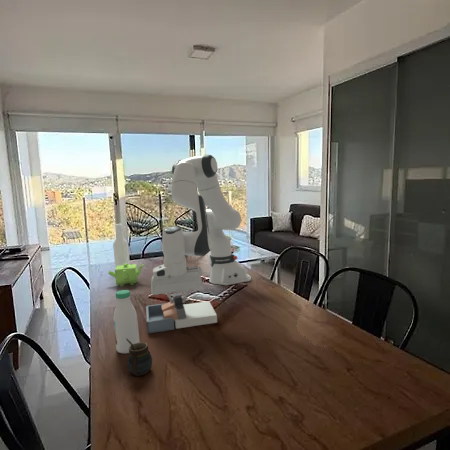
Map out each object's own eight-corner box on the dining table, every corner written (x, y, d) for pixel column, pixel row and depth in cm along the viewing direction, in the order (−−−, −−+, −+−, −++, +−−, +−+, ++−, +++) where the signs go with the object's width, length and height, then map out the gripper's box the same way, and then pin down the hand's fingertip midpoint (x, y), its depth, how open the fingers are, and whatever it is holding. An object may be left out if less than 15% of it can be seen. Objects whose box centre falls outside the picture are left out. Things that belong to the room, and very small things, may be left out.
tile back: (174, 305, 146) (172, 300, 145) (176, 310, 141) (173, 304, 140) (163, 310, 145) (161, 305, 144) (164, 315, 140) (162, 310, 139)
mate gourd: (147, 379, 99) (144, 346, 98) (123, 378, 101) (119, 345, 99) (157, 365, 106) (153, 334, 105) (133, 364, 108) (130, 334, 106)
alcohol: (112, 272, 218) (108, 224, 213) (124, 268, 225) (119, 222, 221) (122, 273, 213) (117, 225, 208) (133, 270, 220) (128, 223, 216)
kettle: (146, 281, 194) (145, 262, 192) (127, 289, 182) (124, 268, 181) (128, 278, 202) (126, 259, 201) (108, 285, 190) (106, 265, 189)
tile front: (177, 313, 137) (175, 308, 137) (178, 318, 132) (177, 312, 132) (164, 317, 136) (163, 311, 136) (165, 322, 131) (164, 316, 131)
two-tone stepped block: (182, 304, 146) (178, 289, 145) (186, 317, 133) (182, 300, 132) (175, 306, 146) (171, 290, 144) (178, 319, 132) (174, 302, 131)
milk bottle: (144, 345, 120) (139, 289, 117) (129, 355, 113) (123, 296, 110) (127, 341, 123) (121, 287, 120) (111, 352, 116) (105, 294, 113)
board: (209, 307, 150) (209, 301, 150) (217, 322, 135) (216, 315, 135) (172, 312, 147) (171, 306, 146) (175, 328, 131) (175, 321, 131)
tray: (170, 312, 147) (169, 302, 147) (174, 329, 131) (173, 318, 130) (147, 316, 145) (146, 305, 144) (147, 333, 129) (146, 322, 128)
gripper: (200, 263, 142) (202, 296, 144) (149, 269, 137) (151, 302, 139) (202, 267, 136) (205, 301, 138) (149, 273, 131) (152, 308, 133)
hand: (178, 302), depth 138 cm, fingers closed on two-tone stepped block, 3 cm apart
